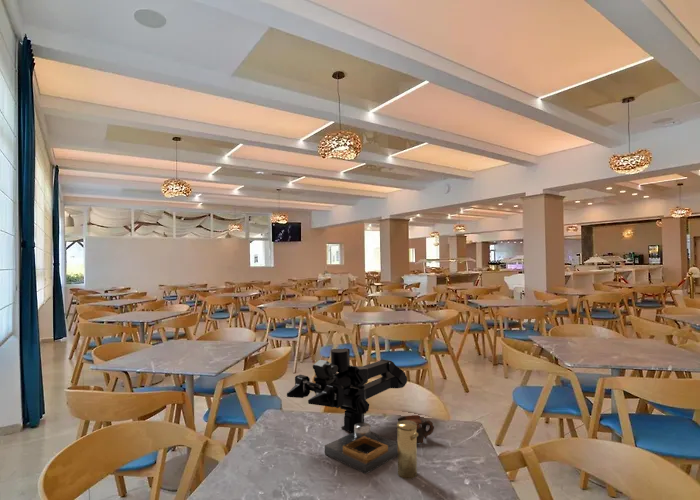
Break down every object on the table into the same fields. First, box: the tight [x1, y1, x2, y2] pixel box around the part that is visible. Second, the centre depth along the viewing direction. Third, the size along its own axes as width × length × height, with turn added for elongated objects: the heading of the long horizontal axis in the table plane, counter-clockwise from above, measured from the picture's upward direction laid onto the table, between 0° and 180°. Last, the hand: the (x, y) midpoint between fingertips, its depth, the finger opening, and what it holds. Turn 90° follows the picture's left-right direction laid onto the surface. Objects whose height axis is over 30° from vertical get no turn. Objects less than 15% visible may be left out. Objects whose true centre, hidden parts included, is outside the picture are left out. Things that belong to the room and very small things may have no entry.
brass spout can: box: [396, 420, 418, 480], centre depth 107 cm, size 8×5×13 cm
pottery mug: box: [395, 414, 435, 444], centre depth 129 cm, size 12×10×8 cm
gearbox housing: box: [324, 421, 398, 474], centre depth 119 cm, size 16×16×6 cm
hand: (297, 398), depth 118 cm, fingers open, 9 cm apart
